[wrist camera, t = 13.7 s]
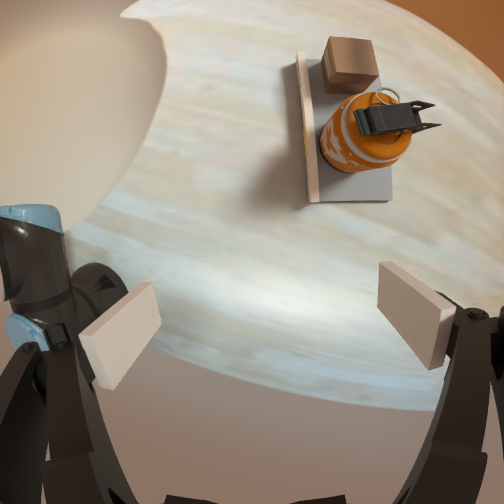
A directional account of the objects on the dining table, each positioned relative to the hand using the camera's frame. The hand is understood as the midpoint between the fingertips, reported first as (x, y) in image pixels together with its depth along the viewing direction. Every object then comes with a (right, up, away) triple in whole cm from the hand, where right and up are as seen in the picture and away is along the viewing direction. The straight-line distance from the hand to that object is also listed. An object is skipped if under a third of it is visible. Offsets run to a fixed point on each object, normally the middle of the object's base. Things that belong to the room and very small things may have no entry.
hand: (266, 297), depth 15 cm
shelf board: (+14, +22, +24) cm, 36 cm away
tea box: (+14, +30, +21) cm, 39 cm away
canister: (+15, +19, +24) cm, 34 cm away
